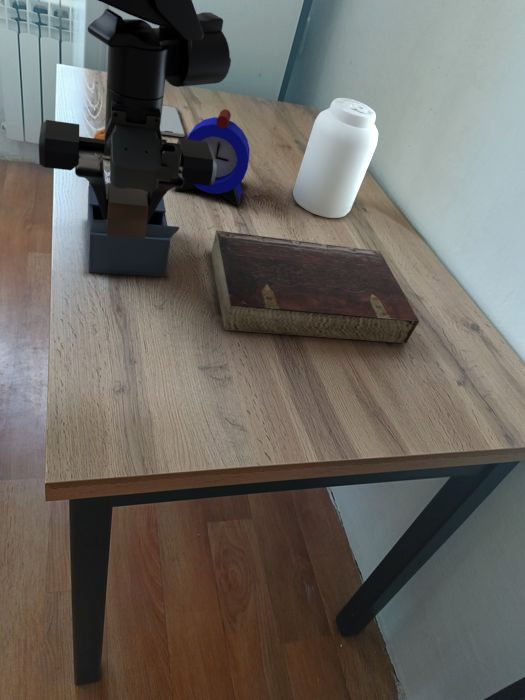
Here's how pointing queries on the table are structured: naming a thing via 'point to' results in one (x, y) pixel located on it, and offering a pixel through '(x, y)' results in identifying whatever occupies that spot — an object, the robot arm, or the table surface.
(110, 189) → the block
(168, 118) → the smartphone
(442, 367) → the table surface
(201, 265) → the table surface
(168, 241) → the carton
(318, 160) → the white plastic bottle
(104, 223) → the box lid
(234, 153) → the alarm clock
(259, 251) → the hardback book
